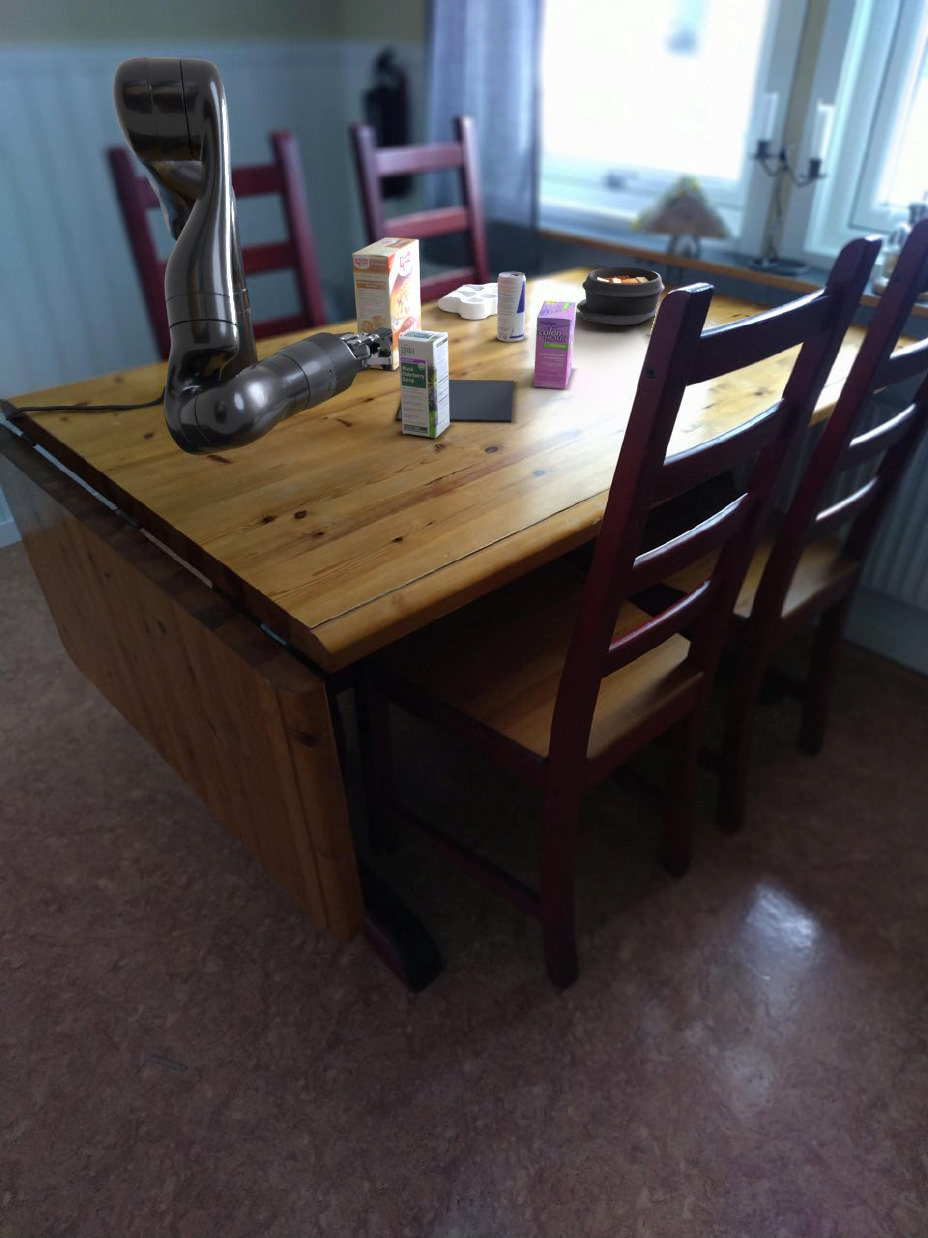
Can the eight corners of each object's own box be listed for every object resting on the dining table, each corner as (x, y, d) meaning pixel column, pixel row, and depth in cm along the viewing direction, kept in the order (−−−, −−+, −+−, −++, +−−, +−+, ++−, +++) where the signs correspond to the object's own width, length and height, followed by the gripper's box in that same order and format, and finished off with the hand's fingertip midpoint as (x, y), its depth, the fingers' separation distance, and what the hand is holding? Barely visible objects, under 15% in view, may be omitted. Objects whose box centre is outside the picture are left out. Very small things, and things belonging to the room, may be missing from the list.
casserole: (655, 337, 168) (660, 293, 163) (563, 329, 173) (565, 286, 168) (673, 304, 187) (678, 264, 182) (590, 298, 192) (592, 258, 187)
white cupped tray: (464, 294, 196) (524, 300, 191) (431, 315, 182) (494, 322, 177) (464, 279, 194) (524, 285, 189) (430, 298, 180) (494, 305, 175)
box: (566, 389, 144) (571, 318, 137) (533, 387, 145) (535, 316, 138) (572, 369, 153) (577, 301, 146) (541, 367, 154) (543, 300, 147)
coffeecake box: (394, 371, 153) (388, 255, 142) (358, 367, 155) (349, 253, 144) (423, 346, 165) (420, 238, 153) (390, 343, 166) (383, 235, 155)
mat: (397, 420, 134) (396, 418, 133) (410, 381, 148) (410, 379, 148) (511, 422, 133) (511, 419, 132) (513, 382, 147) (513, 380, 147)
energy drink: (528, 336, 169) (530, 273, 162) (515, 343, 165) (517, 279, 158) (505, 332, 171) (506, 270, 164) (491, 339, 168) (492, 275, 161)
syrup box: (401, 434, 129) (396, 337, 121) (417, 420, 134) (413, 326, 125) (435, 439, 127) (432, 342, 119) (451, 425, 132) (449, 330, 123)
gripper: (351, 348, 97) (429, 312, 110) (261, 334, 102) (345, 300, 115) (357, 411, 101) (431, 369, 114) (270, 394, 107) (350, 356, 119)
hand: (387, 335), depth 114 cm, fingers closed
